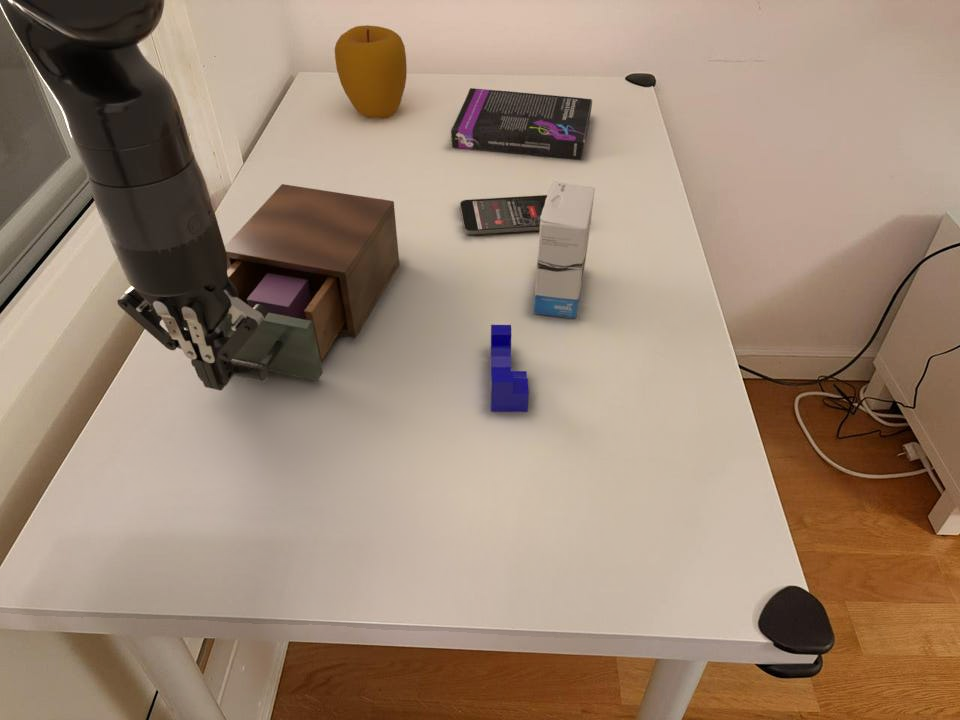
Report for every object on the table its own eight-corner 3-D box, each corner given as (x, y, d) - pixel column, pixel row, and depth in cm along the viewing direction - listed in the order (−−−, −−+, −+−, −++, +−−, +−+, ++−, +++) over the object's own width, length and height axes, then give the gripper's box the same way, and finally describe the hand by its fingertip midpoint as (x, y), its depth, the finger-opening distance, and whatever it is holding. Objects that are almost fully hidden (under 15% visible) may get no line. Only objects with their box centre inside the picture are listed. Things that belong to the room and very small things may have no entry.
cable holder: (527, 411, 69) (529, 382, 66) (490, 411, 69) (491, 382, 66) (524, 354, 75) (526, 324, 72) (490, 353, 75) (491, 324, 72)
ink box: (577, 320, 79) (588, 228, 71) (531, 314, 79) (538, 222, 71) (584, 274, 85) (596, 184, 77) (542, 268, 85) (549, 179, 77)
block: (296, 341, 73) (288, 306, 70) (256, 333, 74) (246, 299, 71) (315, 313, 76) (308, 279, 73) (275, 306, 77) (267, 272, 74)
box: (450, 150, 107) (583, 161, 104) (449, 128, 105) (585, 139, 102) (470, 108, 117) (592, 117, 114) (469, 87, 114) (594, 95, 111)
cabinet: (355, 338, 77) (345, 272, 71) (239, 315, 79) (220, 250, 73) (399, 264, 86) (394, 200, 80) (295, 246, 89) (281, 183, 83)
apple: (332, 105, 117) (319, 22, 108) (393, 92, 121) (387, 10, 112) (356, 133, 110) (346, 47, 101) (421, 118, 114) (416, 34, 105)
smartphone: (584, 223, 91) (465, 231, 90) (583, 228, 91) (465, 236, 90) (572, 193, 96) (459, 200, 95) (571, 198, 97) (459, 204, 95)
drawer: (296, 416, 67) (282, 364, 63) (178, 390, 70) (156, 338, 65) (366, 302, 79) (359, 251, 75) (263, 284, 82) (250, 233, 77)
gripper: (266, 204, 54) (304, 368, 66) (113, 179, 57) (177, 341, 69) (215, 261, 49) (266, 428, 61) (49, 231, 52) (129, 397, 64)
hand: (218, 382), depth 65 cm, fingers closed
